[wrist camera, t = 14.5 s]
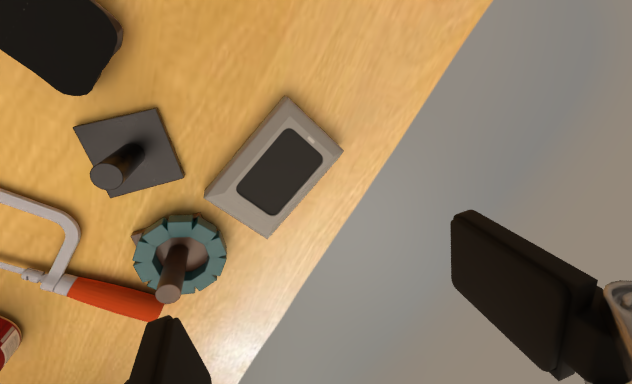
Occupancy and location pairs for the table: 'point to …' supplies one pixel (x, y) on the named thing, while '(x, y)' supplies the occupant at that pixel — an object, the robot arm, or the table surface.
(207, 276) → the ring
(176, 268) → the brown peg stand
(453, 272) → the robot arm
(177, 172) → the black post
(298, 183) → the grey flat block
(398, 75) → the table surface
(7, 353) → the soda can
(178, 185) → the table surface
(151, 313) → the hand saw
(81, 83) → the black sponge
